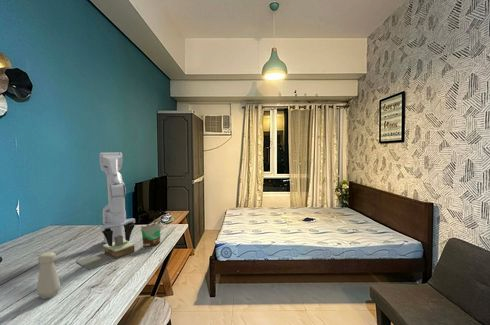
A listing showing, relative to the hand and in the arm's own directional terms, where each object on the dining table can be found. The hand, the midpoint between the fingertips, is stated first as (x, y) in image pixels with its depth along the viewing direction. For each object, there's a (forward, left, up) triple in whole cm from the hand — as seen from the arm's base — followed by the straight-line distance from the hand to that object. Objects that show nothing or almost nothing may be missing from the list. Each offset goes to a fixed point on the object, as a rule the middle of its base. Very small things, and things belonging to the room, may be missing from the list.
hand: (119, 243), depth 112 cm
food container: (+4, +15, -4) cm, 16 cm away
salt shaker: (+15, -30, -4) cm, 34 cm away
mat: (+1, -10, -4) cm, 11 cm away
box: (0, 0, -4) cm, 4 cm away
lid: (0, 0, -1) cm, 1 cm away
